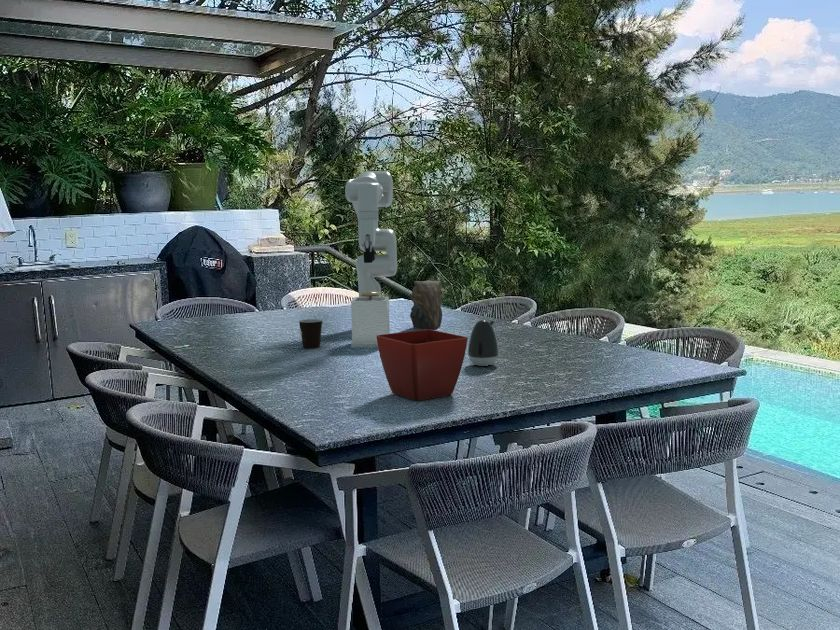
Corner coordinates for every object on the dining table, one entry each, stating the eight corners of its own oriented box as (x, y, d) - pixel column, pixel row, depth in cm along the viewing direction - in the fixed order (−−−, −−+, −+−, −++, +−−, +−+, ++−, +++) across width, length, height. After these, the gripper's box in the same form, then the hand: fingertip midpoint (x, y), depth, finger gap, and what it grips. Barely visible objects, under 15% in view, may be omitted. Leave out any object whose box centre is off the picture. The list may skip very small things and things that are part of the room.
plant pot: (470, 395, 241) (469, 336, 239) (414, 406, 230) (413, 344, 228) (429, 384, 257) (429, 328, 255) (375, 393, 246) (374, 335, 244)
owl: (409, 328, 368) (408, 281, 366) (421, 324, 380) (420, 279, 377) (436, 329, 363) (435, 282, 360) (447, 325, 375) (447, 279, 372)
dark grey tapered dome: (505, 365, 285) (505, 319, 283) (485, 369, 277) (484, 323, 275) (482, 361, 292) (481, 316, 290) (461, 365, 284) (461, 320, 282)
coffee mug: (318, 349, 320) (318, 322, 318) (296, 348, 322) (295, 322, 320) (328, 344, 331) (327, 318, 330) (306, 343, 333) (306, 318, 331)
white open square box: (354, 341, 336) (353, 297, 333) (390, 341, 335) (389, 296, 333) (351, 347, 322) (349, 301, 319) (388, 347, 321) (387, 300, 319)
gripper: (360, 215, 331) (361, 259, 333) (355, 217, 314) (357, 263, 316) (380, 215, 331) (381, 259, 333) (376, 216, 313) (377, 263, 316)
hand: (369, 261), depth 325 cm, fingers open, 9 cm apart
